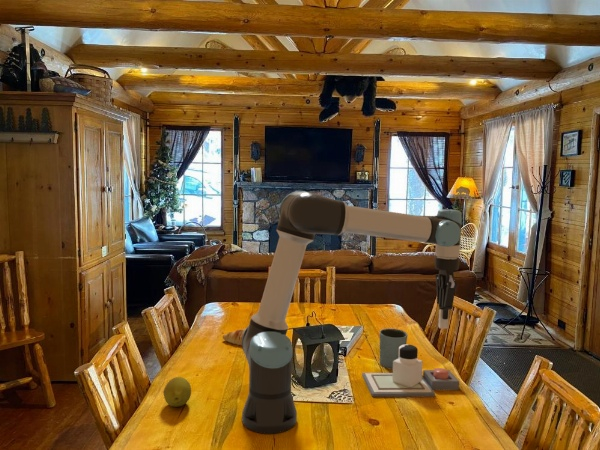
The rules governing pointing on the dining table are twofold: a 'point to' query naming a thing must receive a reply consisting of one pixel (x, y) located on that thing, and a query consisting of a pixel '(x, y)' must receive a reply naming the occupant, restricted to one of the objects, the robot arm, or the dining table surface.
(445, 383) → the button housing
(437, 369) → the button
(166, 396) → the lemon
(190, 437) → the dining table surface
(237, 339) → the croissant
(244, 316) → the dining table surface
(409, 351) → the medicine bottle
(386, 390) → the picture board
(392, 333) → the grey cylindrical container
